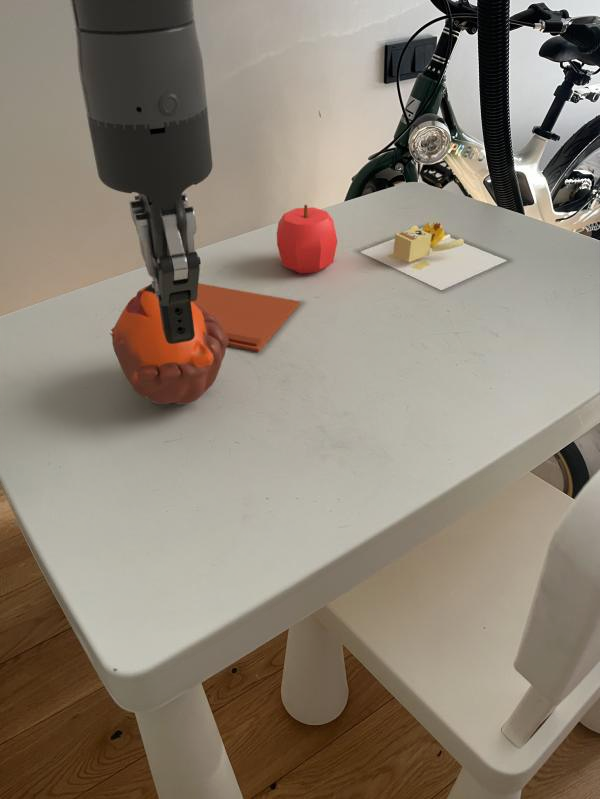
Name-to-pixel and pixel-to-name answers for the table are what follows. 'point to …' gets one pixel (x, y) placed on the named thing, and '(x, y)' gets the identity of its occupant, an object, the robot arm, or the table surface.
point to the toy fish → (167, 352)
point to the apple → (306, 239)
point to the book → (245, 314)
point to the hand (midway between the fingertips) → (179, 337)
